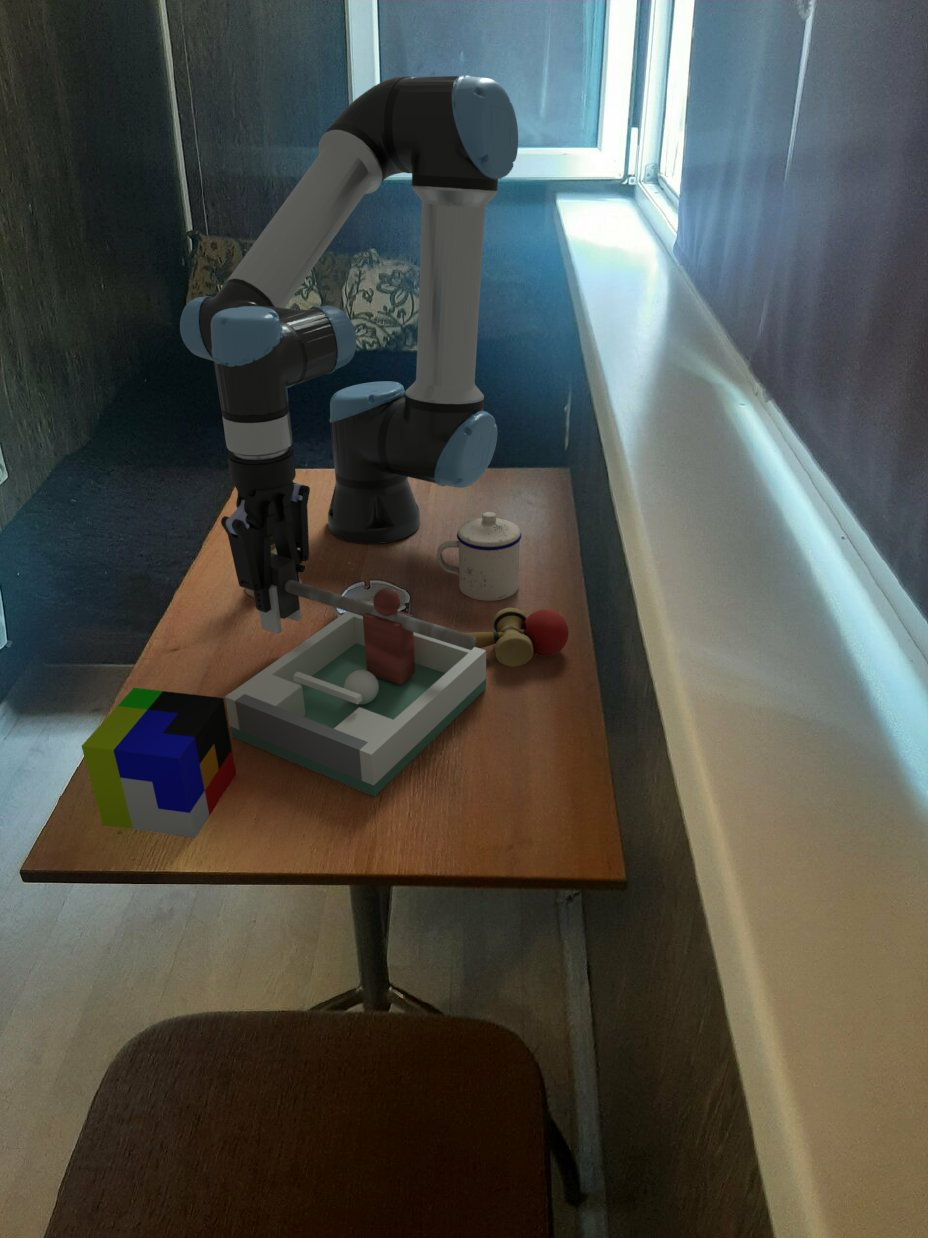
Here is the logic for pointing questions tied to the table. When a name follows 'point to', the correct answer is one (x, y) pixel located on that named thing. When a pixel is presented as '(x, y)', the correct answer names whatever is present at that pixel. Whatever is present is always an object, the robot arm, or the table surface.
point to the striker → (368, 622)
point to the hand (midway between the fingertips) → (281, 623)
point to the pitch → (353, 705)
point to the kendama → (524, 635)
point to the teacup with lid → (486, 558)
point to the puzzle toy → (161, 761)
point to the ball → (362, 685)
